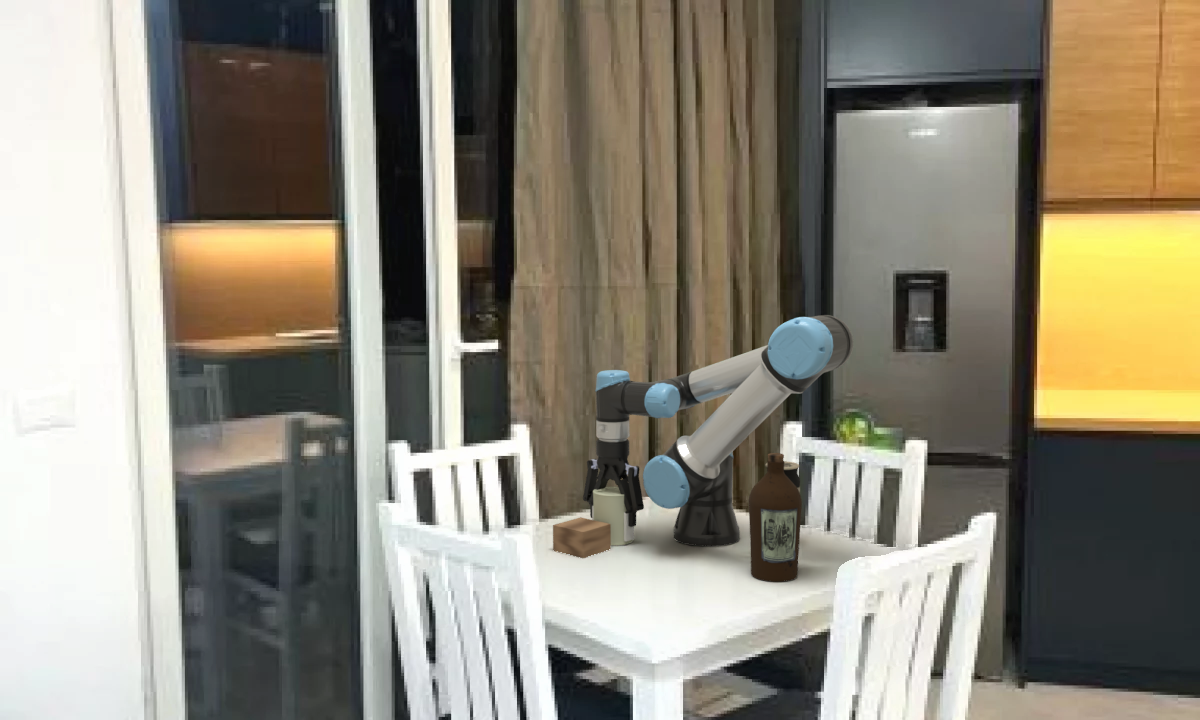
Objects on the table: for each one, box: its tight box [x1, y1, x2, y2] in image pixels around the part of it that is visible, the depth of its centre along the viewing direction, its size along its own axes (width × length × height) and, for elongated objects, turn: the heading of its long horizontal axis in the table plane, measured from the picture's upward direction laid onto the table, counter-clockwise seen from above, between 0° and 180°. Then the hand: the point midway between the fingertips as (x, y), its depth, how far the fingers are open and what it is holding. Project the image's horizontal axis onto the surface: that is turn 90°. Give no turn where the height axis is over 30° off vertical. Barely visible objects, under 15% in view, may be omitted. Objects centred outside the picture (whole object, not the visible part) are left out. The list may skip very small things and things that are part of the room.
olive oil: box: [748, 452, 803, 583], centre depth 217 cm, size 11×11×25 cm
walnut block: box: [552, 516, 612, 559], centre depth 237 cm, size 9×9×6 cm
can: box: [593, 486, 634, 547], centre depth 244 cm, size 9×9×12 cm
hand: (612, 536), depth 245 cm, fingers closed on can, 9 cm apart
